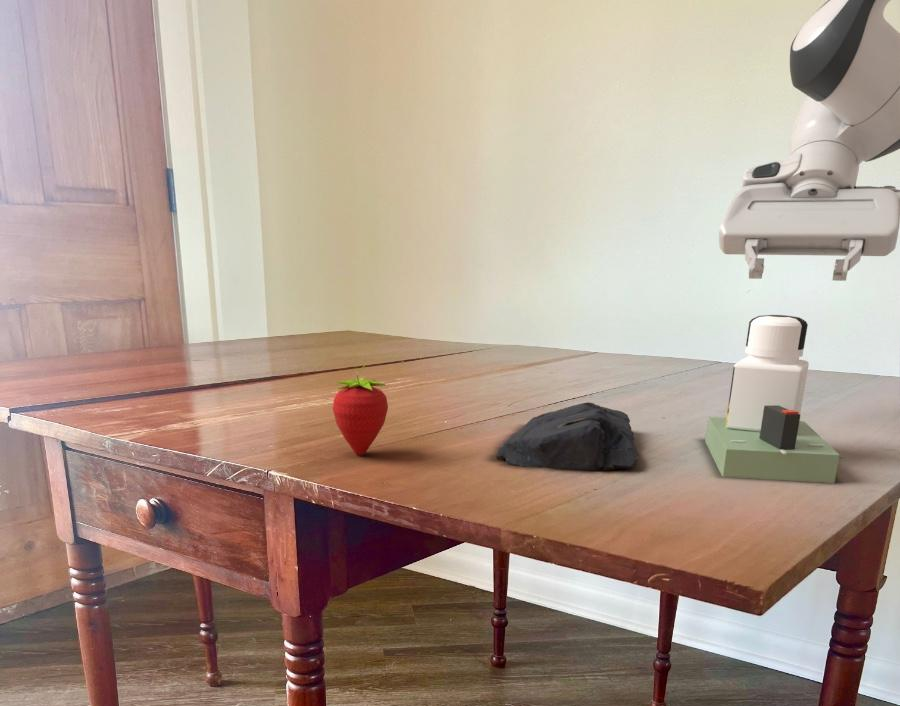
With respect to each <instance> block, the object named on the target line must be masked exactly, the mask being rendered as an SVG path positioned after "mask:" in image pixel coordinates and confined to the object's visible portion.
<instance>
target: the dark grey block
mask: <svg viewBox="0 0 900 706" xmlns="http://www.w3.org/2000/svg"><path fill="white" fill-rule="evenodd" d="M798 413H799V412H798V411H795V410H788V409H786V408H783V407H781V406H779V405H773V406H764V411H763V418H762V424H761V430H760V437H759V438H760V439H762V440H763V441H765V442H767V443H769V444H771V445H773V446H775V447H777V448H779V449H795V444H796V439H797V433H798V427H799V421H801V413H800V414H798Z"/></svg>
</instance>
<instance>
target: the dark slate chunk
mask: <svg viewBox="0 0 900 706" xmlns="http://www.w3.org/2000/svg"><path fill="white" fill-rule="evenodd" d="M630 423H631V420H630V417H629V415H628V414H627V413H625V412H624V411H621V410H617V409H611V408H608V407H605V406H601V405H599V404H596V403H594V402H590V401H589V402H588V401H587V402H582V403H577V404H575V405H571V406H567V407H564V408H560V409H557V410H553V411H549V412H545V413H542V414H539V415H537V416H534V417H532V418H531V419H529V421H528V422H526V424H524V426H522V428H521V429H519V430H517V431H516V432H514V433H513V434H511V435H510V436H509V438H508V439H507V440H505V442H504V443H503V444H502V445H501V447H499V449H498V451H497V453H496V454H495V458H496V459H498V460H499V461H502V462H506V464H507V465H508V466H513V467H521V468H540V469H541V468H544V469H551V470H561V471H578V472H594V471H604V472H607V471H608V472H609V471H616V470H629V469H631V468H633V467H635V466H637V464H638V458H639V454H638V449H637V448H636V445H635V444H634V443H635V442H634V441H635V439H636V438H635V437H634V436H635V434H634V432H633V430H632V427H631V424H630Z"/></svg>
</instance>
